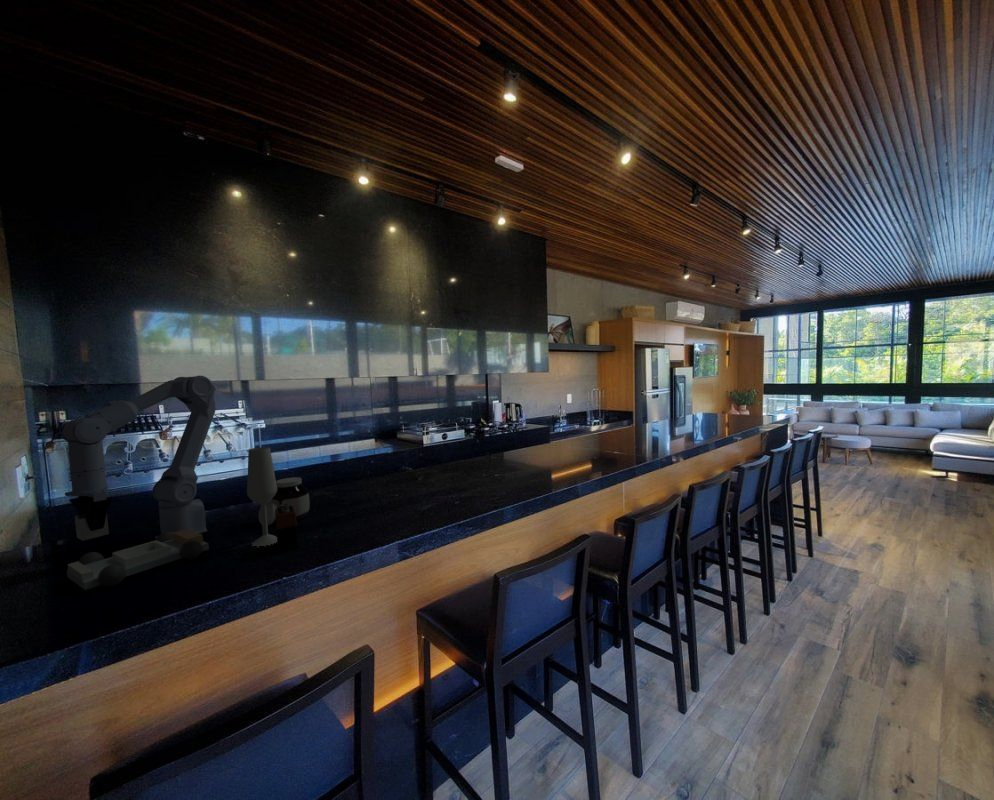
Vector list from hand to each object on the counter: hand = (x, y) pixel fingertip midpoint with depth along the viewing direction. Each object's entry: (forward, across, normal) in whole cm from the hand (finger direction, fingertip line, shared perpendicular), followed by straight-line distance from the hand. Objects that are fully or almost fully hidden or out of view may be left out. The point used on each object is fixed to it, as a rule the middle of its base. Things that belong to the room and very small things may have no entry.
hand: (93, 527), depth 96 cm
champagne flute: (+9, +24, +26) cm, 37 cm away
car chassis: (+8, +12, +5) cm, 15 cm away
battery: (+9, +32, +27) cm, 43 cm away
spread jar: (+9, +12, +38) cm, 41 cm away
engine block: (+2, 0, 0) cm, 2 cm away
